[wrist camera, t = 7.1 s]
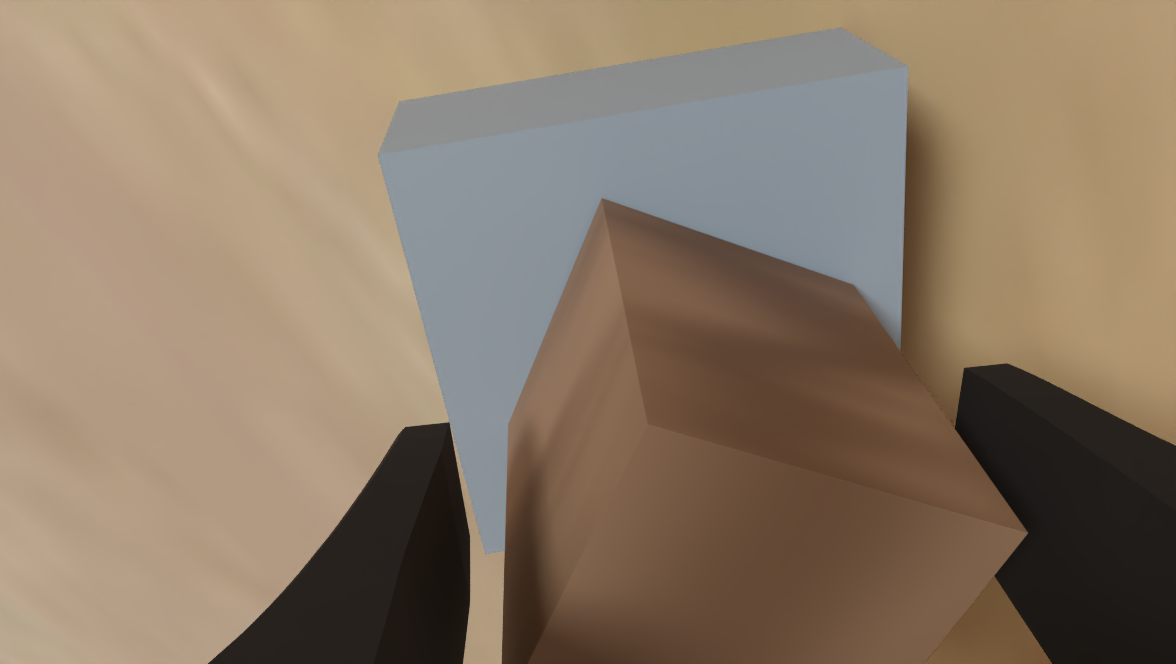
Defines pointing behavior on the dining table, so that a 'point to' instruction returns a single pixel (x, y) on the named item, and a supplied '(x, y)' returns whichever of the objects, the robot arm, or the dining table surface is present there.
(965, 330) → the dining table surface
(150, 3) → the dining table surface
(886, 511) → the walnut block
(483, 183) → the base block
